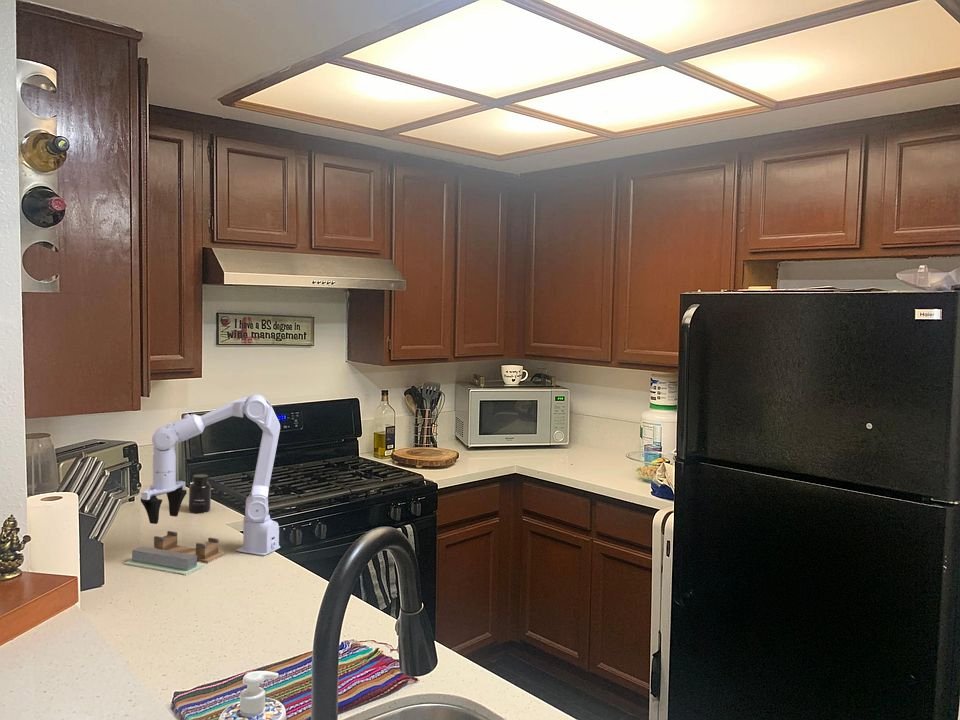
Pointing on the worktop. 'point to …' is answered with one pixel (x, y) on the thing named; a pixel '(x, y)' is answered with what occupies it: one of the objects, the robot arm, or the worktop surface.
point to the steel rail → (164, 558)
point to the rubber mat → (162, 567)
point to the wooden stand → (202, 551)
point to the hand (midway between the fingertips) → (163, 519)
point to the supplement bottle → (199, 494)
